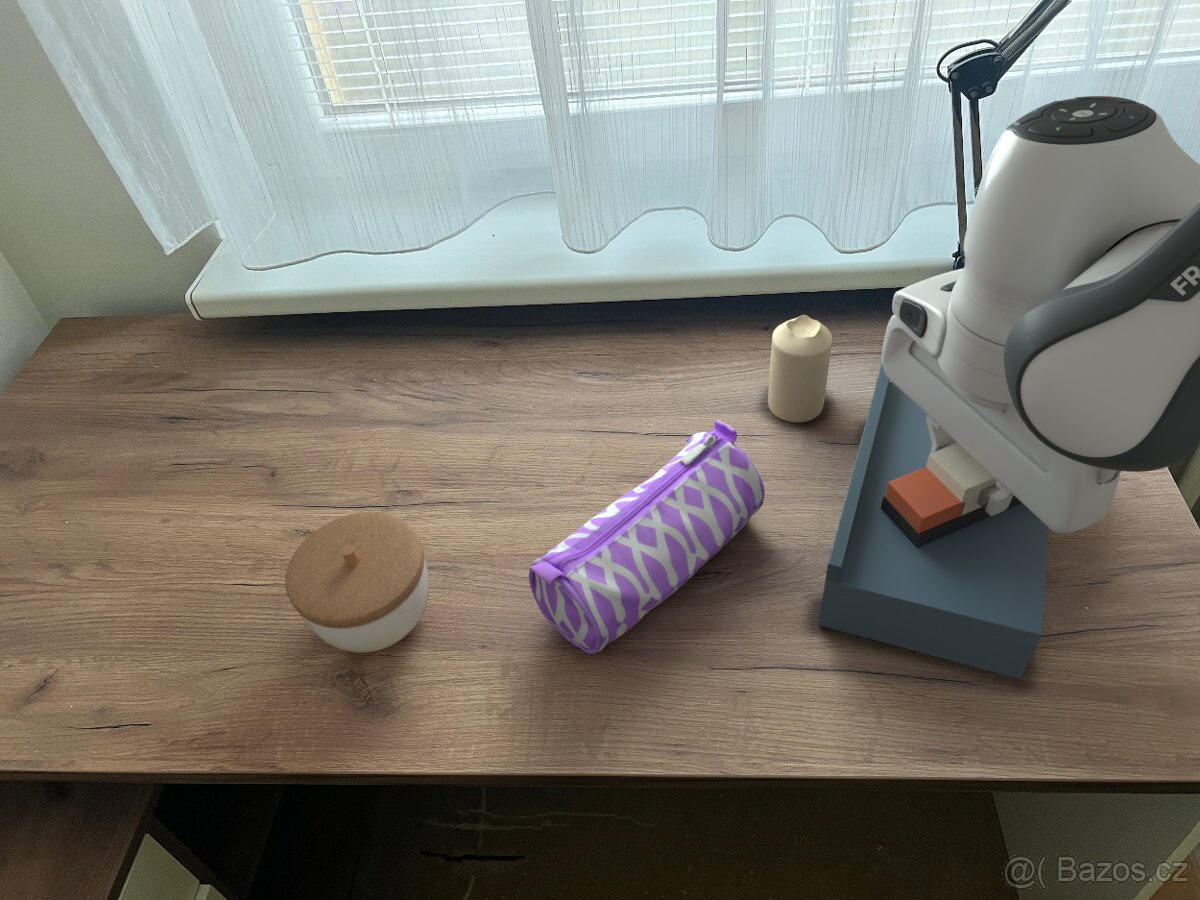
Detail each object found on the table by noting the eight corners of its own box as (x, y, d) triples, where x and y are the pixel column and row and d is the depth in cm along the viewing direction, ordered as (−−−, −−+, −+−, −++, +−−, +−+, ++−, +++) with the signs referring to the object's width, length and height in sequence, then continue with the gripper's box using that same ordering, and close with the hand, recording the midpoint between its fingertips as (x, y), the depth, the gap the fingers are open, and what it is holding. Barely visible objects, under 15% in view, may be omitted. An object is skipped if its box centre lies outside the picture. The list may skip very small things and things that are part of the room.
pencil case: (693, 470, 83) (692, 395, 76) (775, 517, 78) (781, 442, 71) (524, 622, 72) (506, 551, 66) (606, 687, 67) (596, 618, 61)
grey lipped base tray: (1037, 458, 80) (1062, 393, 75) (1020, 680, 65) (1050, 619, 59) (869, 426, 85) (881, 362, 79) (817, 625, 70) (828, 564, 64)
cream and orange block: (1001, 457, 73) (1016, 416, 69) (1042, 494, 70) (1059, 453, 66) (880, 508, 70) (889, 467, 67) (916, 548, 67) (928, 508, 64)
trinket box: (468, 599, 74) (445, 529, 68) (382, 698, 68) (347, 631, 62) (377, 550, 79) (347, 480, 72) (288, 638, 73) (247, 570, 66)
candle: (764, 420, 87) (770, 340, 80) (770, 384, 90) (776, 304, 83) (821, 425, 85) (832, 345, 78) (825, 388, 89) (835, 309, 82)
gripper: (1176, 422, 52) (1101, 563, 62) (950, 257, 66) (918, 394, 76) (1093, 457, 51) (1030, 596, 61) (879, 282, 65) (856, 418, 74)
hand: (966, 483), depth 68 cm, fingers closed on cream and orange block, 4 cm apart
